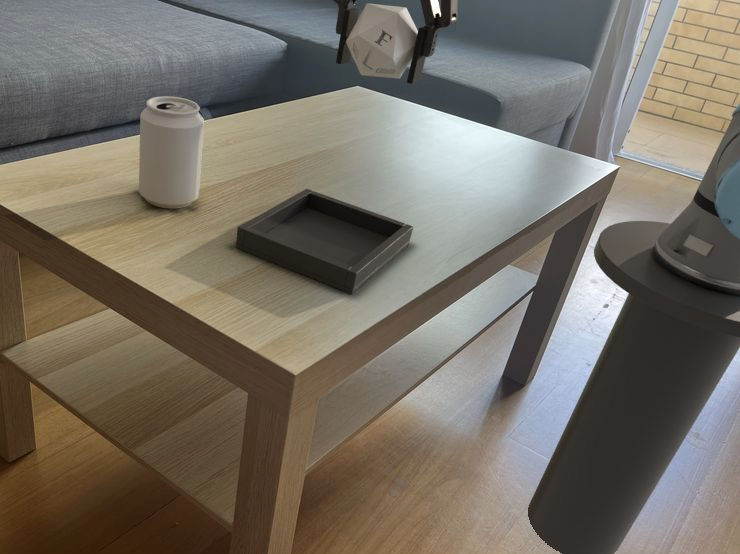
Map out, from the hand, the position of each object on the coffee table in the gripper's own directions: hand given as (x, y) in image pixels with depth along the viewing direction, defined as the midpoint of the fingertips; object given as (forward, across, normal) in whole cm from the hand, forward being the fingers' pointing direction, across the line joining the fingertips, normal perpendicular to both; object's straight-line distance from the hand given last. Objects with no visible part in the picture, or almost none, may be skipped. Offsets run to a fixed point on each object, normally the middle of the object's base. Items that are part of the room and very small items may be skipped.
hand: (377, 71), depth 94 cm
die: (0, 0, 0) cm, 0 cm away
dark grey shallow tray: (+16, +7, -21) cm, 27 cm away
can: (+16, -14, -24) cm, 32 cm away
